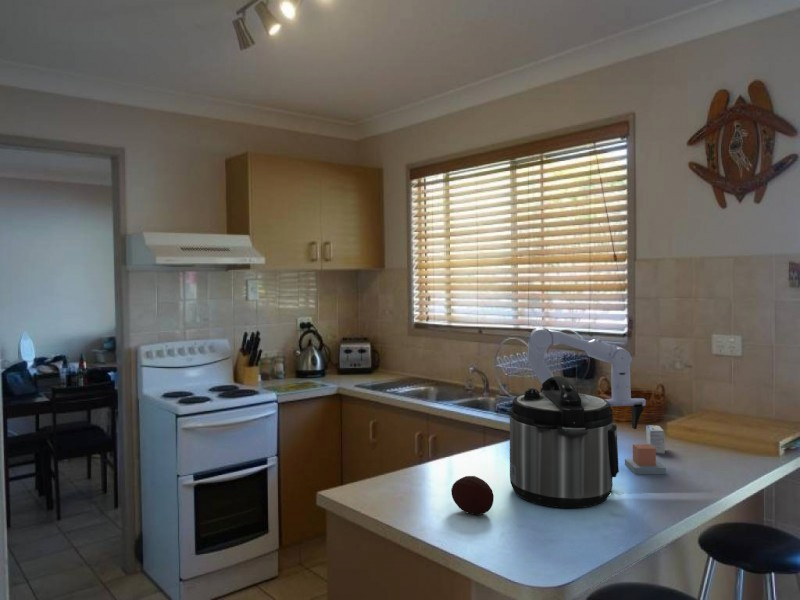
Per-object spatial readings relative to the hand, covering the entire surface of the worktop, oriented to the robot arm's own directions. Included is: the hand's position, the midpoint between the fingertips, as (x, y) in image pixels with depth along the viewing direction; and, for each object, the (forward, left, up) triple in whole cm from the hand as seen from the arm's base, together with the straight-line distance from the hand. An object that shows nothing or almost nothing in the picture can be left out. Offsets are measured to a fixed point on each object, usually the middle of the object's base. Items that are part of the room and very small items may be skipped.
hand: (622, 428), depth 200 cm
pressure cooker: (-26, -29, -11) cm, 40 cm away
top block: (+2, -13, -9) cm, 16 cm away
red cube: (+2, -13, -7) cm, 15 cm away
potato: (-52, -43, -11) cm, 68 cm away
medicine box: (+13, +8, -11) cm, 19 cm away
